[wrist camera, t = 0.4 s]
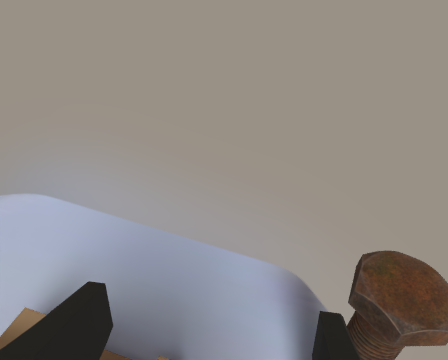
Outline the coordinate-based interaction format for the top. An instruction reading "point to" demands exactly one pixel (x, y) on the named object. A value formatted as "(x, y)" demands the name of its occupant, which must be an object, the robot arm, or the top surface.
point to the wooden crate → (32, 317)
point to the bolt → (396, 305)
